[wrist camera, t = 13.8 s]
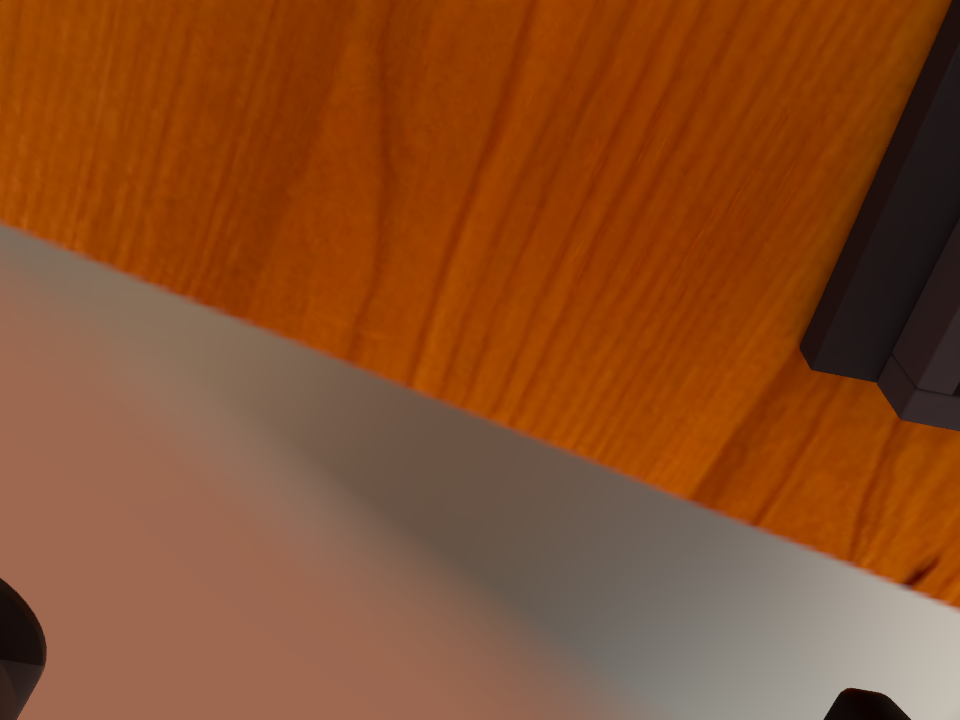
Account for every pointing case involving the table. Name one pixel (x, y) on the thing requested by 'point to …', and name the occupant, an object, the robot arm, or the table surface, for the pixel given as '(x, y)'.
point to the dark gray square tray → (905, 259)
